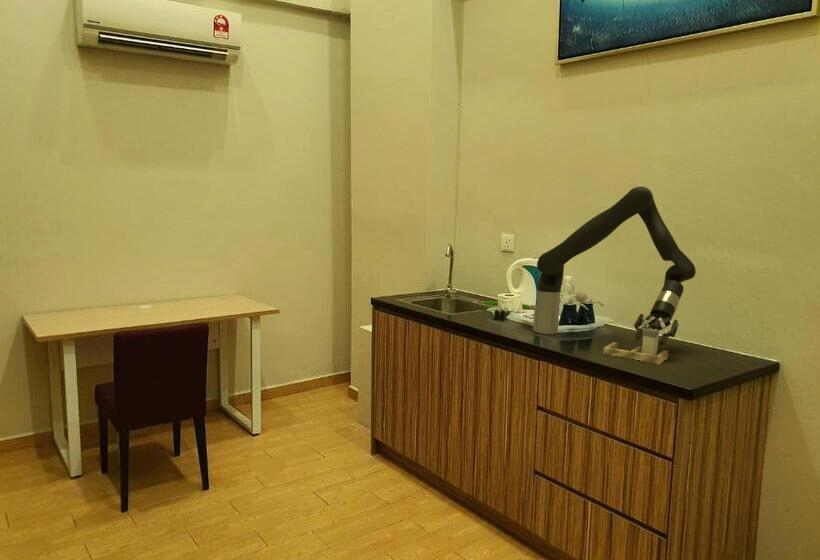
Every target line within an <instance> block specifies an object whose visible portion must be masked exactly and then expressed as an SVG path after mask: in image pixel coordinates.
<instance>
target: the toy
mask: <svg viewBox="0 0 820 560" xmlns="http://www.w3.org/2000/svg"><path fill="white" fill-rule="evenodd" d="M574 299H575V300H576V302H577V303H581V304H584V303H586V301H587V300H588V299H589V296H588V294H587V293H586V292H585V291H582V290H581V291H578V292H576V294H575V295H574ZM574 299H573V298H572V297H570V298H569V299H568V301H567V304H568V303H573V304H574ZM588 303H592V304H593V305H594V301H593V299H592V298H590V299H589V300H588ZM588 303H587V304H588Z"/></svg>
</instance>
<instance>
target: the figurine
mask: <svg viewBox="0 0 820 560" xmlns="http://www.w3.org/2000/svg"><path fill="white" fill-rule="evenodd" d="M498 302H499V301H489V300H488V301H487V300H485V301H482V300H478V301H476V304H477V305H479V306H483V305H485V306H495V307H496V309H495V310H494V312H493V314H494V317H493V318H494V320H495V321H498V320H499V319H500V321H505V319H506V317H505V316H506V315H507V312H508V308H506V307H505V308H504V309H502V307H501V306H500V305H498ZM521 304H522V308H521V309H530V310H533V311H534V309H535V308H536V306H537V305H532V304H531V305H529V304H526V303H525V304H524V303H521ZM497 305H498V306H497ZM508 313H509V312H508ZM499 317H500V318H499Z"/></svg>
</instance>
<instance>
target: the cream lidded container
mask: <svg viewBox="0 0 820 560" xmlns="http://www.w3.org/2000/svg"><path fill="white" fill-rule="evenodd" d="M642 333H643V334H642V343H641V344H642V346H641V347H642V353H644V354H650V355H656V356H657V355H658V345H659V335H660V330H657V329H646V330H644V332H642Z"/></svg>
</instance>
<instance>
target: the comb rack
mask: <svg viewBox="0 0 820 560" xmlns="http://www.w3.org/2000/svg"><path fill="white" fill-rule="evenodd" d="M618 345H619V342H615V341H613V342H611V343H609V344H608V345H605V346H604V347H603V354H604V355H603V354H602V355H603V356H609V355H611V356H610V357H614V356H618V357H617V358H620V357H623V358H622V359H626V358H628V359H627V360H632V359H634V360H633V361H637V360H640V361H639V362H643V361H644V362H643V363H650V364H654V363H655V364H656V365H661V364H662V363H664V362H665V361H666V360H667V359H668V358H669V350H662V351H661V352H660V353H657V356H656V355H650V354H644V353H642V346H641V345H640V346H639V345H637V346H636V347H634V348H633V349H631V350H626V349H619V348H618ZM664 360H665V361H664Z"/></svg>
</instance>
